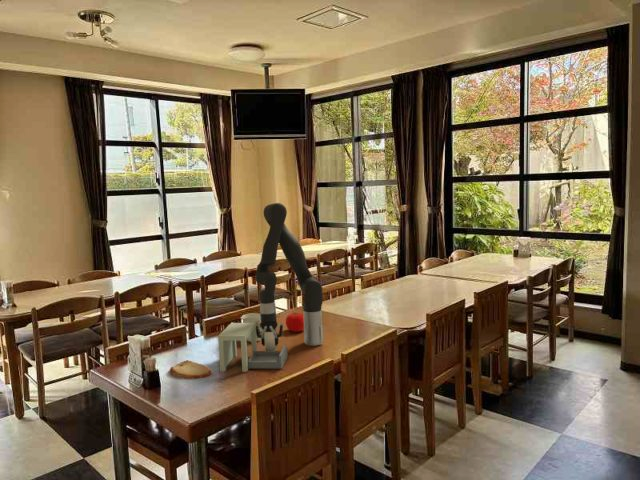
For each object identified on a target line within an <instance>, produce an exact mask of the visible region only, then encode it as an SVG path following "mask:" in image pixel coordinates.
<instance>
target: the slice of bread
mask: <svg viewBox="0 0 640 480" xmlns="http://www.w3.org/2000/svg"><path fill="white" fill-rule="evenodd" d="M169 372H170V374H171V375H172V376H174V377H176V378H179V379H184V380H186V379H187V380H200V379H206V378H210V377H212V376H213V372H212V370H211V369H210V368H209V367H207V366H205V365H204V364H201V363H198V362H195V361H191V360H186V359H185V360H183V361H181V362H179V363H177V364H176V365H174V366H171V367H170V369H169Z"/></svg>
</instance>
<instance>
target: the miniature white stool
mask: <svg viewBox="0 0 640 480" xmlns="http://www.w3.org/2000/svg"><path fill="white" fill-rule="evenodd" d="M250 334H251V342H250V343H251V355H252V354H253V352H254V351H258V343H257V342H258V341H257V338H256V323H243V322H230V323H229V324H228V326H226V327H225V328H224V330H223V331H222V332H220V333H219V334H218V336H217V340H218V355H219V358H218V360H219V371H220V372H225V371H227V366H228V365H229V363H230V362H231V361H232V360H233V359H234V358H236V357H237V356H238V350H237V348H238V347H237V342H238V341H240V349H241V350H240V351H241V368H242V369H241V370H242V373H243V372H244V373H245V372H248V371H249V368H248V360H249V358H248V347H247V346H248V343H247V342H248V341H247V340H246V339H247V338H248V336H249V335H250Z"/></svg>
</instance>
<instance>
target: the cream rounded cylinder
mask: <svg viewBox="0 0 640 480" xmlns="http://www.w3.org/2000/svg"><path fill="white" fill-rule="evenodd" d="M274 331H275V330H274ZM264 343H265V346H264V351H277V346H275V336H274V334H273V332H265V333H264Z"/></svg>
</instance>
